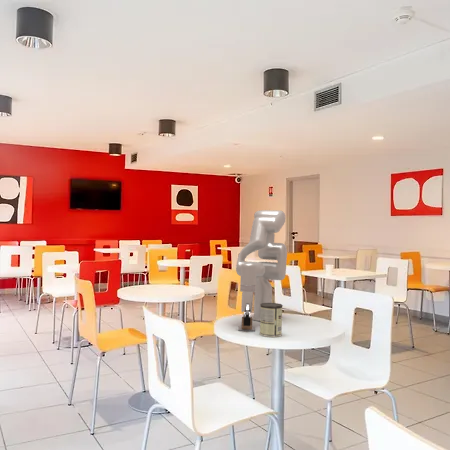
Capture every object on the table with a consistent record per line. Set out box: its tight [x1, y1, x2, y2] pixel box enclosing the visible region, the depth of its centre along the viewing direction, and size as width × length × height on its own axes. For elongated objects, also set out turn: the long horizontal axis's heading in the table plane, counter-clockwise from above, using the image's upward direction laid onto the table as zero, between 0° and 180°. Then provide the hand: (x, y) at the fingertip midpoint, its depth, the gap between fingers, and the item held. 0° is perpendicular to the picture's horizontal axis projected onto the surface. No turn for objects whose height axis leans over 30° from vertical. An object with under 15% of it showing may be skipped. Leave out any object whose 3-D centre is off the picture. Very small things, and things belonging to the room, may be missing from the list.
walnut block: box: [241, 316, 253, 329], centre depth 218 cm, size 5×5×5 cm
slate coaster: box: [238, 325, 256, 332], centre depth 218 cm, size 8×8×1 cm
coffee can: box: [259, 302, 284, 338], centre depth 208 cm, size 10×10×14 cm
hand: (246, 323), depth 218 cm, fingers open, 9 cm apart
